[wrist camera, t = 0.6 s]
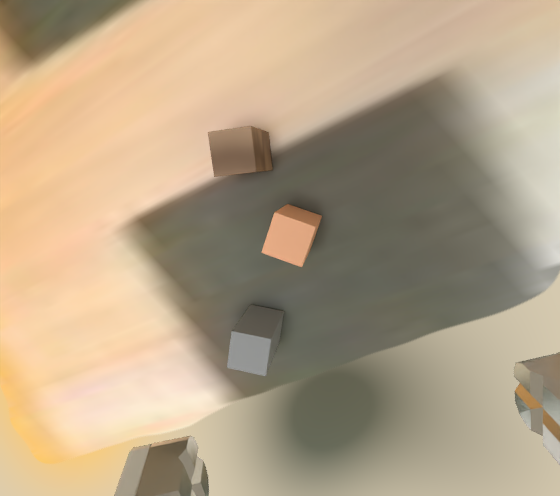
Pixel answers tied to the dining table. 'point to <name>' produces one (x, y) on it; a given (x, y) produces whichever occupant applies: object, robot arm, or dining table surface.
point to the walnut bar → (240, 151)
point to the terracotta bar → (291, 234)
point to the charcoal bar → (255, 340)
